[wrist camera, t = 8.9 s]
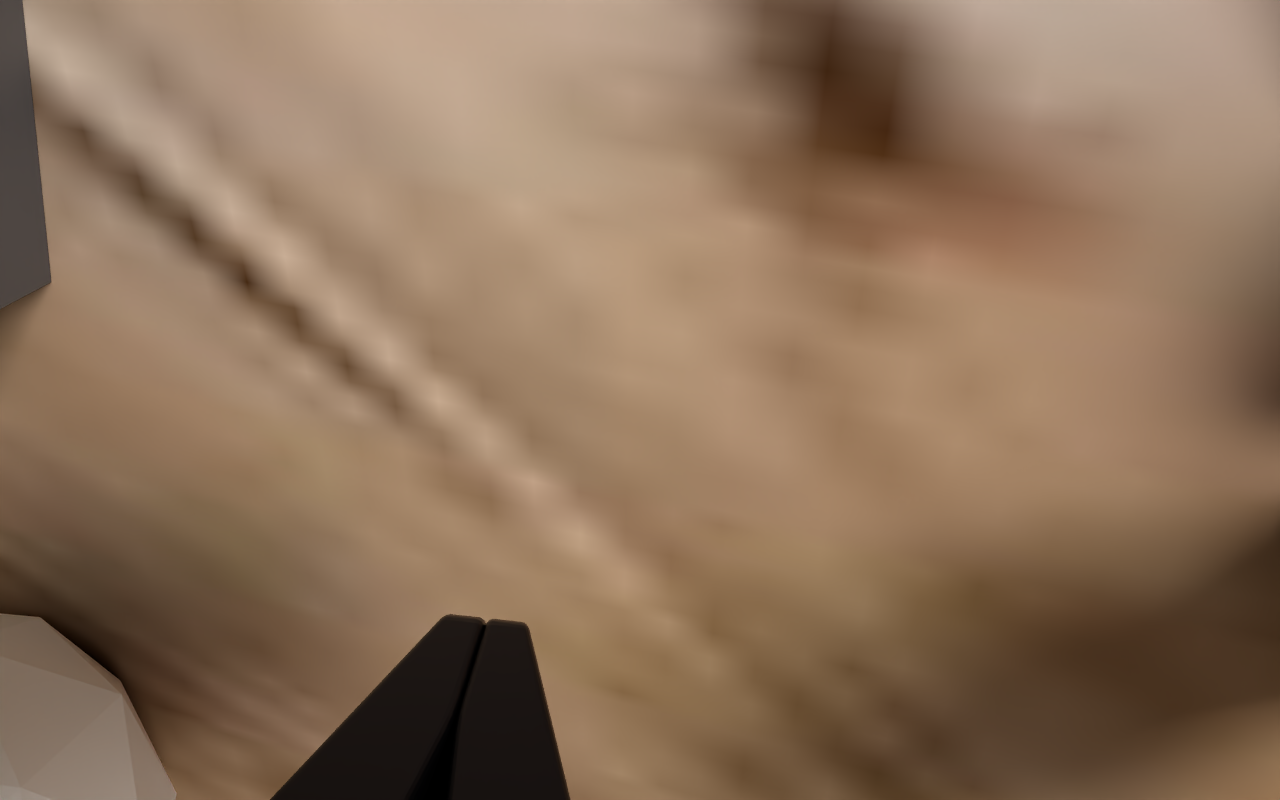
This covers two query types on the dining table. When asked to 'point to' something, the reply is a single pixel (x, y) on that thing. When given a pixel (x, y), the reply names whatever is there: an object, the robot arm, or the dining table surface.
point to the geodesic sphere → (68, 723)
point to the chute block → (19, 167)
